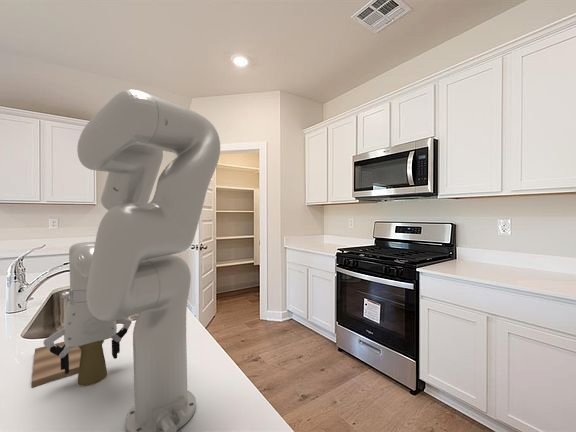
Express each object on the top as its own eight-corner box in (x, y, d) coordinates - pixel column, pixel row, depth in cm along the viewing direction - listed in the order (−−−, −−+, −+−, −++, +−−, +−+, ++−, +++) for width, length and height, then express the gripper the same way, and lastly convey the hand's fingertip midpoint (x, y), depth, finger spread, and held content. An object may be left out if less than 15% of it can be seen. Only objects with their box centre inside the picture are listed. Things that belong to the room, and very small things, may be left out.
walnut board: (95, 367, 71) (94, 361, 71) (31, 387, 63) (31, 381, 63) (87, 340, 86) (86, 335, 86) (35, 353, 79) (35, 348, 79)
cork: (91, 387, 63) (90, 340, 63) (70, 384, 65) (68, 338, 64) (113, 372, 69) (112, 328, 69) (93, 369, 70) (92, 327, 70)
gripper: (41, 306, 58) (44, 386, 58) (133, 289, 69) (135, 357, 70) (42, 297, 64) (44, 370, 64) (127, 283, 75) (128, 345, 75)
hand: (91, 363), depth 67 cm, fingers open, 9 cm apart
